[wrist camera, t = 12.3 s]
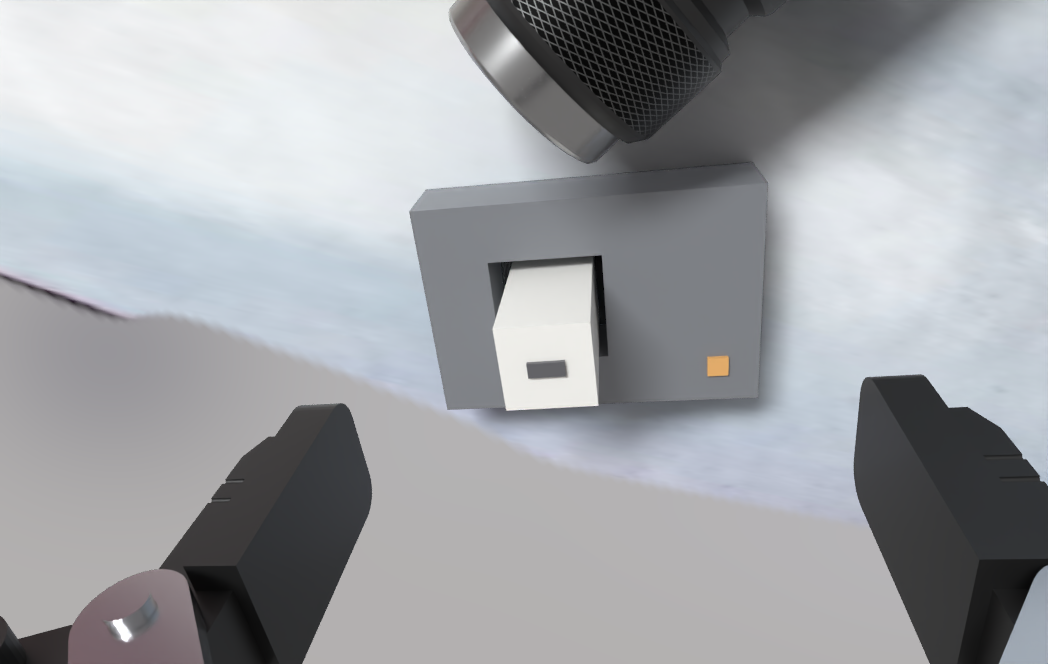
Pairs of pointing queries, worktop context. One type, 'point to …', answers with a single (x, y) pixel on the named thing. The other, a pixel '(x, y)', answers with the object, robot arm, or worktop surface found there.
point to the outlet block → (607, 276)
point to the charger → (549, 334)
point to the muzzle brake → (600, 61)
